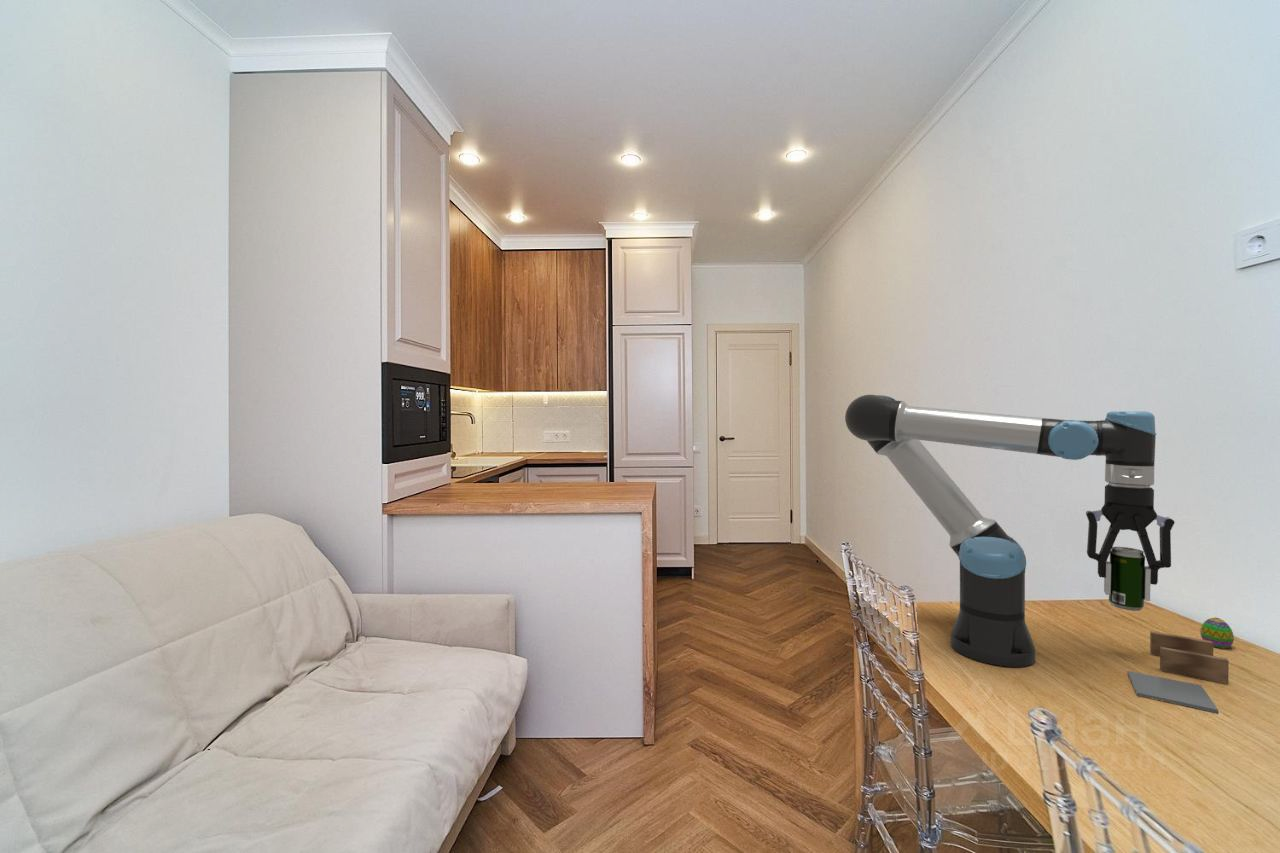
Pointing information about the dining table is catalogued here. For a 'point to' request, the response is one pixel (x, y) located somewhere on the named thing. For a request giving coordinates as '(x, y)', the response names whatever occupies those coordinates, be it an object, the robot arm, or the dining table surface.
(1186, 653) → the rack
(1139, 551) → the beer can
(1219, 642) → the egg
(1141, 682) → the coaster
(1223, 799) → the dining table surface
